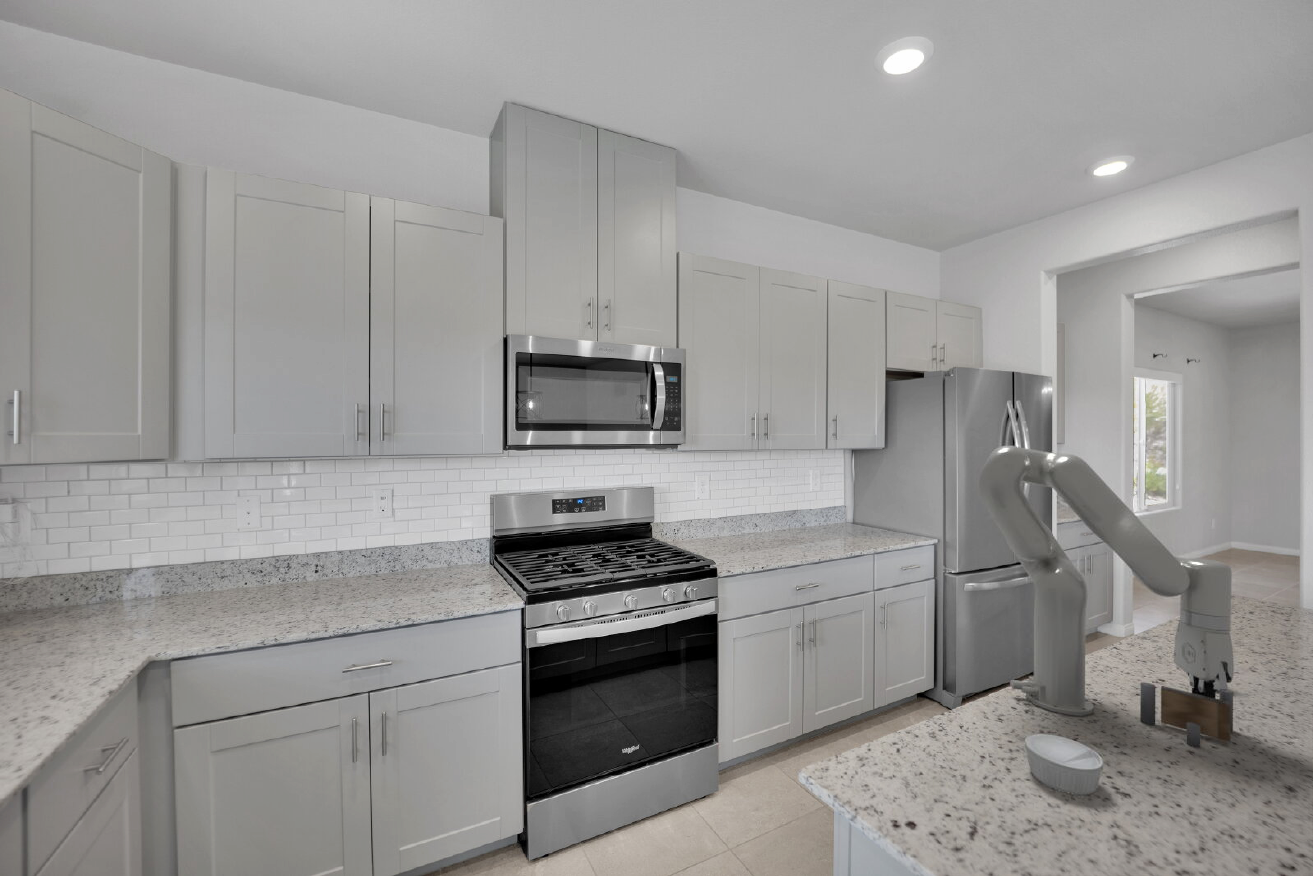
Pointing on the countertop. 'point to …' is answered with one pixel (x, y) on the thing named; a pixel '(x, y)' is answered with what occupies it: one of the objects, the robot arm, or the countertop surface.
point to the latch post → (1229, 698)
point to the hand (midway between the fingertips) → (1203, 709)
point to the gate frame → (1149, 714)
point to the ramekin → (1063, 763)
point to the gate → (1195, 712)
